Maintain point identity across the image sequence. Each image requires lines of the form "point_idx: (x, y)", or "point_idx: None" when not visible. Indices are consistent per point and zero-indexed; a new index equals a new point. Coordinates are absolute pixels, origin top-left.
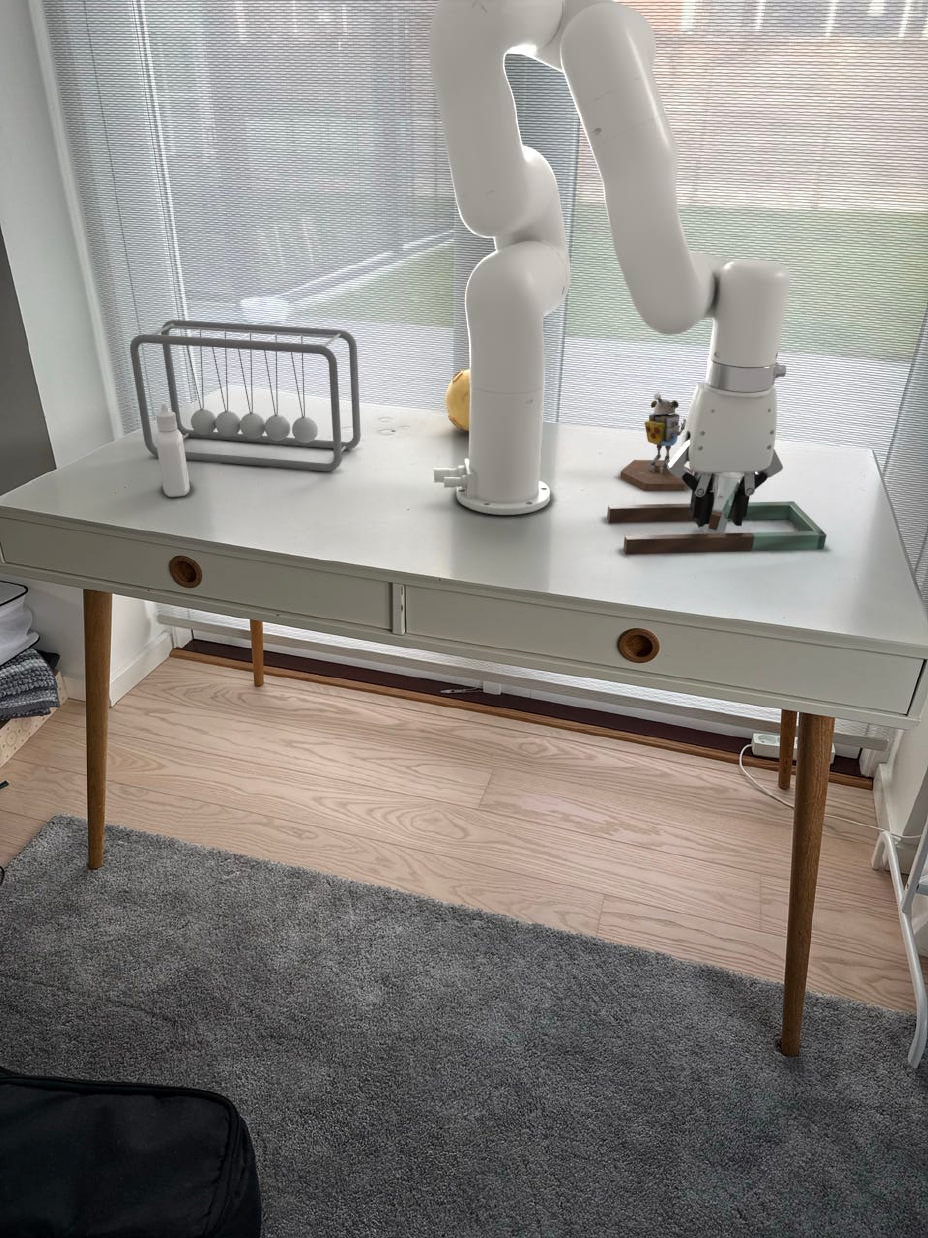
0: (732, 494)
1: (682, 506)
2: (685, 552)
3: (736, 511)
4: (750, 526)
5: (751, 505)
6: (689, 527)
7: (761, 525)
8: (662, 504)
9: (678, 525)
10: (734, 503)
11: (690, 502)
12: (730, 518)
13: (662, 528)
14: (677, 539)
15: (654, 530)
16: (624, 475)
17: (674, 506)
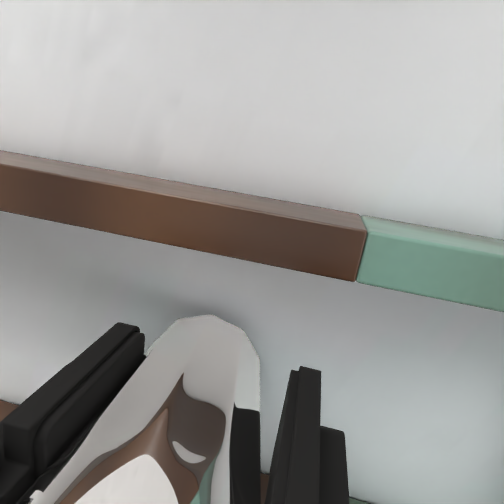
0: None
1: (102, 222)
2: None
3: (266, 496)
4: (423, 338)
5: (499, 307)
6: (156, 276)
7: (483, 343)
8: (12, 172)
9: (119, 247)
10: (270, 485)
11: (36, 391)
12: (285, 396)
13: (51, 257)
14: None
15: (19, 265)
16: None
17: (62, 214)
